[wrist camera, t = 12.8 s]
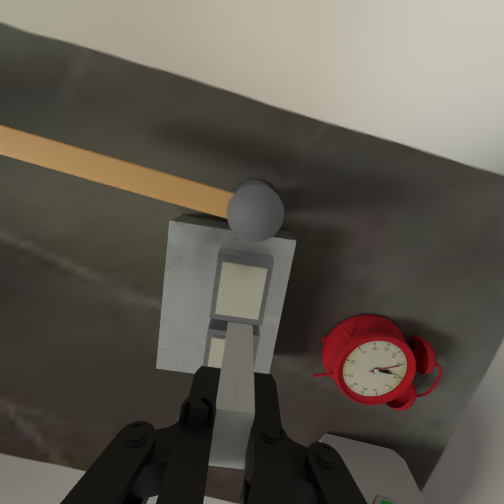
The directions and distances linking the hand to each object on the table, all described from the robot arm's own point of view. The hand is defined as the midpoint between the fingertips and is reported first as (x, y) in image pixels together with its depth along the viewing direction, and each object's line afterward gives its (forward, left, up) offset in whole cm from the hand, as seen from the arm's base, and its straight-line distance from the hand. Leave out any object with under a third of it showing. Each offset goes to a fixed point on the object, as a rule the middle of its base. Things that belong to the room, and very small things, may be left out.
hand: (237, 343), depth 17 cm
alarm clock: (+18, -9, -16) cm, 26 cm away
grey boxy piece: (-1, -1, -15) cm, 15 cm away
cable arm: (-9, +9, -15) cm, 19 cm away
